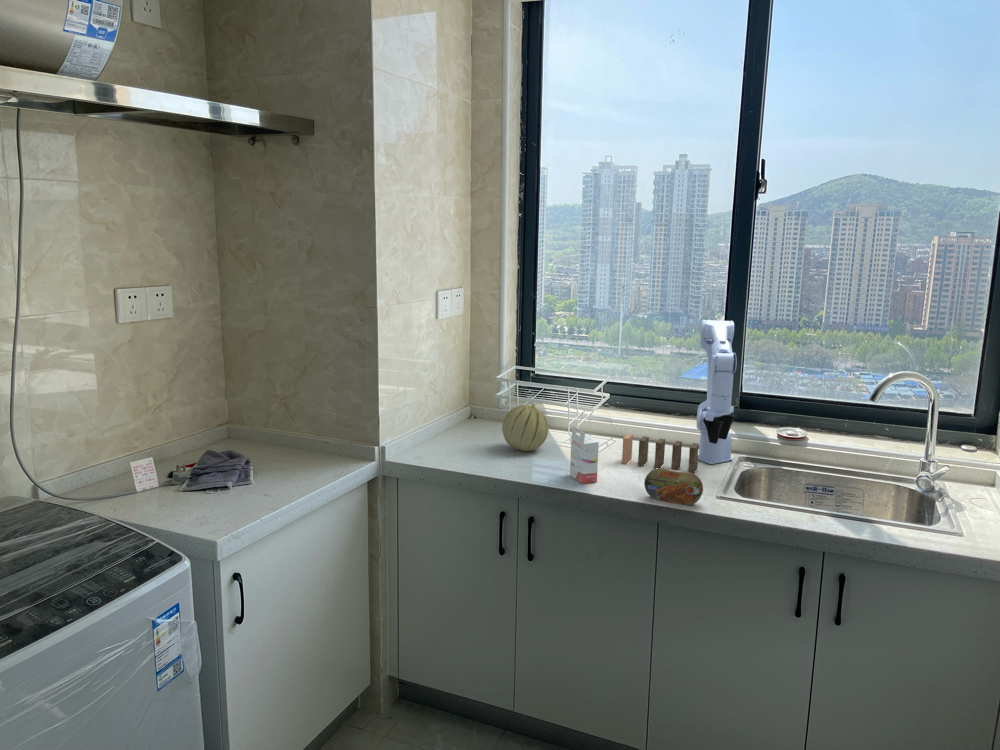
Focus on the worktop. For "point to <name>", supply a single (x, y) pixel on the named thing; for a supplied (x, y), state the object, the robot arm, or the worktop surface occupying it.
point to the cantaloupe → (525, 428)
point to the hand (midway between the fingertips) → (717, 440)
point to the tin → (673, 486)
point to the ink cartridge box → (583, 457)
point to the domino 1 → (627, 448)
